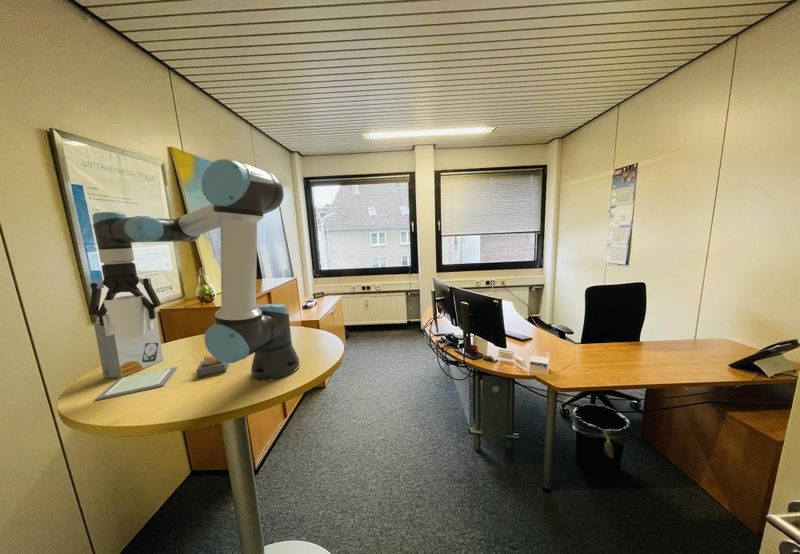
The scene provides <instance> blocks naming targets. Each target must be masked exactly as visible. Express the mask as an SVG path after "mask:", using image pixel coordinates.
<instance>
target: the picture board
mask: <svg viewBox="0 0 800 554" xmlns="http://www.w3.org/2000/svg"><path fill="white" fill-rule="evenodd" d="M177 369H178V366H174V367H170V368H169V367H167V368H164V369H160V370H152V371H148V372H144V373H143V372H142V373H138V374H133V375H132V374H131V375H126V376H124V377H122V378H117V380H115V381H114V382H113V383H112V384H111V385H109V386H108V387H107V388H106V389H105V390H104V391H103V392H102V393H101V394H99V395H98V396H97V397H96V398H94V399H95V401H96V400H98V401H102V400H106V398H107V399H110V398H111V397H112V398H115V396H116V397H120V396H119V395H121V396H125V395H124V394H126V395H129V393H130V394H133V393H134V392H135V393H138V392H144V391H148V390H152V389H156V388H157V389H158V388H162V387H164V386H165V385H166V384H167V382H169V380H170V378H171V377H172V376H173V375H174V374H175V372H176V371H177ZM101 399H102V400H101Z"/></svg>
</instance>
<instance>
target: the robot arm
mask: <svg viewBox="0 0 800 554" xmlns="http://www.w3.org/2000/svg"><path fill="white" fill-rule="evenodd" d="M200 186H201V192H202V194H203V196H205V199H206V201H208V202H209V203H210V204H207V205H205V206H202V207H200V208H198V209H196V210H193V211H191V212H189V213H186V214H184V215H182V216H179V217H177V218H156V217H153V216H149V215H148V216H147V215H145V216H144V215H136V216H131V217H127V214H126V213H124V212H116V211H98V212H93V215H92V223H93V224H92V228H93V230H94V236H95V240H96V241H95V242H96V243H97V244H96V245H97V249H98V255H99V261H100V263H102V265H101V271H102V272H101V273H102V276H103V281H96V282H92V283H90V288H91V295H90V303H89V307H88V308H89V309H88V315H90V316H97V317H98V320H99V321H98V322H100V325H101V326H104V327H105V332H106V336H110V335H112V334H114V332H113V327H112V322H111V320H110V317H109V315H108V312H107V310H106V308H105V306H104V301H103V302H102V303H101V297H102V291H103V290H102V289H103V288H104V287H106V288H107V289H108V290H107V292H106V293H105V298H104V299H103V300H113V299H114V297H116V295H117V294H120V293H130V294H132V295H134V296H135V297H138V296H141V298H142V304H143V305H144V306H145V316H146V322H147V327H148V330H152V329H153V328H154V325H153V319H155V317H156V315H157V314H156V315H155V312H156V310H155V309H156V308H159V307H161V306H162V302H161V301H160V299H159V297H158V295H157V293H156V292H155V290H154V288H153V285H152V280H151V278H150V277H146V278H144V277H143V278H142V277H141V278H140V277H139V276H138V273H137V267H136V263H134V262H133V261H134V260H135V256H134V250H133V246H132V244H133V243H162V242H163V243H171V242H172V243H173V242H174V243H176V242H177V243H178V242H182V243H188V242H189V243H190V242H194V241H197V240H199V238H200V237H201V235H203V234H206V233H208V232H211V231H214V230H216V229H220V291H221V293H220V298H221V300H220V301H221V302H220V303H221V304H220V305H221V307H220V308H219V309H218V310H217V311H216V312H215V313H214V324H213V325H211V326H209V328H208V329H207V330H206V331H205V333H204V339H203V340H204V345H205V348H206V349H207V351H208V352H209V355H210V354H212V356H213V357H214V358H215V359H217V360H218V361H220V362H223V363H228V364H234V363H237V362H240V361H241V360H246V359H247V357H249V356H251V355H252V354H254V355H253V360H252V364H251V367H250V373H251V377H252V378H253V379H254V380H257V381H271V379H273V380H276V379H275V378H278V379H280V378H279V377H281V378H283V377H282V376H284V377H286V376H285V375H287V374H289V373H291V372H292V371H294V370H295V369H296V368H297V367H298V366H299V364H300V359H299V356H298V354H297V351H296V350H295V348H294V346H293V341H292V334H291V333H292V332H291V324H290V313H289V310H288V306H287V305H286V304H284V303H266V304H257V261H258V260H257V257H258V255H257V254H258V252H257V251H258V249H257V248H258V223H259V221H261V220H262V219H263V218H264V215H265V214H268V213H270V212H273V211H274V210H276V209H278V208H279V207H280V205H281V204H282V202H283V199H284V196H285V195H284V194H285V193H284V188H283V185H282V183H281V182H280V180H279V178H278V177H277V176H275V174H273V173H272V172H269V171H268V170H264V169H261V168H257V167H255V166H251V165H250V164H246V163H244V162H242V161H239V160H237V161H236V160H233V159H228V158H221V159H217V160H215V161H213V162H211V163H210V165H209V166H207V167H206V168H205V170H204V172H203V173H202V178H201V185H200ZM139 283H140V284H141V285H142V286H143V288H144V290H145V292H146V293H147V296H148V297H149V299H150V300H149V299H148V297H147V296H146V295H145V294H144V293H143V292H142V291H141V289H140V288H139V287H138V284H139ZM143 295H145V296H144V297H142V296H143ZM100 304H101V306H100ZM299 367H300V366H299ZM291 374H292V373H291ZM289 375H290V374H289ZM287 376H288V375H287Z"/></svg>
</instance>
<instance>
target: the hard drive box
mask: <svg viewBox="0 0 800 554" xmlns="http://www.w3.org/2000/svg"><path fill="white" fill-rule="evenodd" d="M155 315H156V317H155V319H153V325H154V328H153V329H152V330H148V327H147V322H146V316H145V335H143V336H141V337H137V338H133V339H128V340H118V338H117V335H116V333H115V330H114V327H113V325H112V327H113V332H114V334H112V335H110V336H106V332H105V327H104V326H101V325H100V322H99V321H97V322H95V323H94V324H93V325H94V326H93V327H94V331H95V337H96V343H97V348H98V353H99V358H100V362H101V368H102V369H101V370H102V375H103V378H106V379H107V378H109V379H119V378H122V377H127V376H130V375H132V374H134V373H136V372H138V371H141V370H144V369H145V368H147V367H150V366H154V365H155V364H158V363H159V362H160V363H161V362H162V361H164V358H163V357H164V355H163V350H162V343H161V336H160V329H159V323H158V317H157V312H156V311H155ZM131 373H132V374H131Z"/></svg>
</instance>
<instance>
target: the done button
mask: <svg viewBox="0 0 800 554" xmlns="http://www.w3.org/2000/svg"><path fill="white" fill-rule="evenodd" d="M203 361H204V362H205V367H207V366H212V365H217V364H220V363H221V362H220V361H218V360H217V359H215V358H214V357H213V356H212V354H210V353H209V354H207V355H204V356H203Z"/></svg>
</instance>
